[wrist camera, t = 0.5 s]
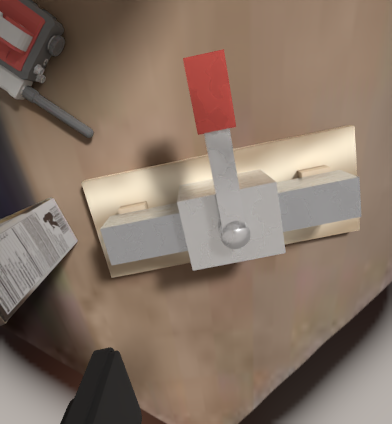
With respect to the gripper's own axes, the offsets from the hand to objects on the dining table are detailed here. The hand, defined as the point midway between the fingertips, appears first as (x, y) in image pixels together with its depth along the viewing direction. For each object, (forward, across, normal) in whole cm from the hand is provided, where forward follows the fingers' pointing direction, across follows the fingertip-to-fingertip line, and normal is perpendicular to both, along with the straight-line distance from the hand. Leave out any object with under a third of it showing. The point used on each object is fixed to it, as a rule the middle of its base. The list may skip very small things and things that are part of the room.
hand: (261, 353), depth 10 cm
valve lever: (+18, -1, -4) cm, 19 cm away
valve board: (+27, -1, +3) cm, 27 cm away
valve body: (+26, -1, +3) cm, 26 cm away
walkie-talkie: (+28, +16, -18) cm, 37 cm away
